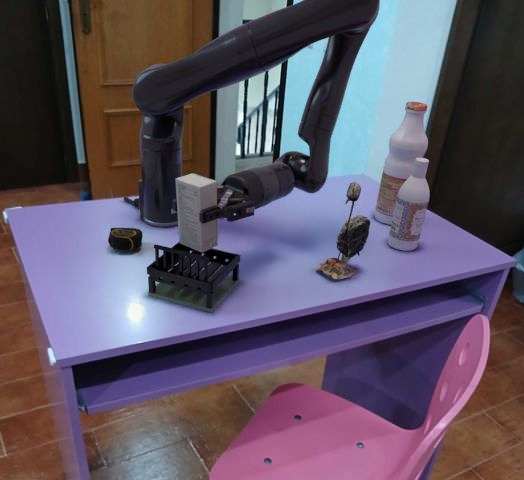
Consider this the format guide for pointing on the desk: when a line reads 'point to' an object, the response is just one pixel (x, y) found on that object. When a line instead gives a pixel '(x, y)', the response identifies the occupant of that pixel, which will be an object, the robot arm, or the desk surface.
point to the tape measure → (125, 239)
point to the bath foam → (410, 209)
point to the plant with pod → (348, 240)
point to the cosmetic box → (196, 211)
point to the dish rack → (192, 276)
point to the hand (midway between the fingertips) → (187, 211)
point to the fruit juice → (401, 159)
